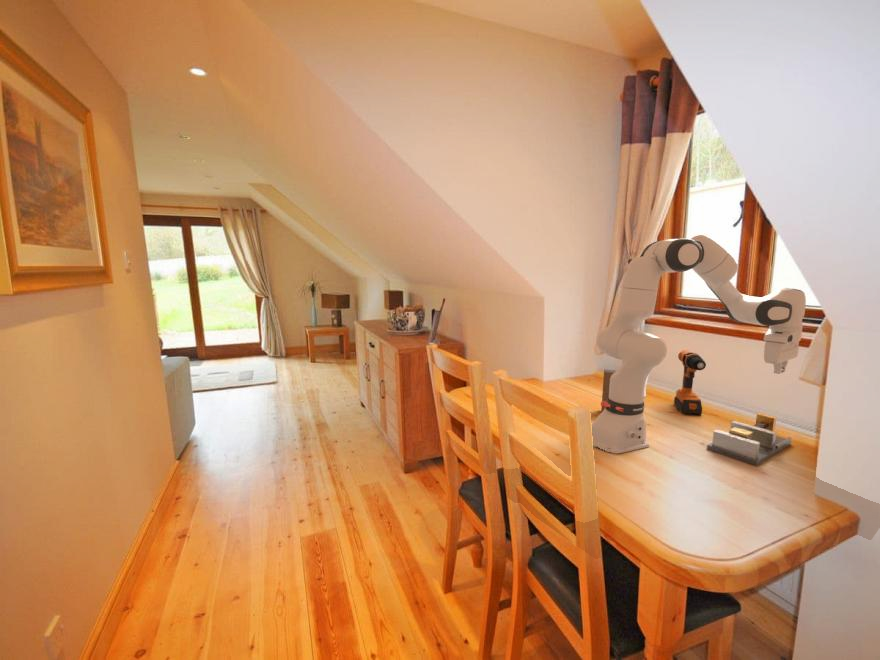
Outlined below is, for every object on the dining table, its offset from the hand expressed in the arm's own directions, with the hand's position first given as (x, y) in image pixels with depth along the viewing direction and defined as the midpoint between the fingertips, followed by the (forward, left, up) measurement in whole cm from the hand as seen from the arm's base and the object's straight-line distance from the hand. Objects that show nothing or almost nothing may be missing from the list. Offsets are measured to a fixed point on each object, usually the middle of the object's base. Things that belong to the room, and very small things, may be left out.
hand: (779, 372), depth 144 cm
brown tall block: (-30, +44, -23) cm, 58 cm away
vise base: (-19, 0, -23) cm, 30 cm away
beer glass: (+2, +52, -23) cm, 57 cm away
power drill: (-1, +28, -23) cm, 36 cm away
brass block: (-26, 0, -22) cm, 34 cm away
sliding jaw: (-12, 0, -21) cm, 25 cm away
